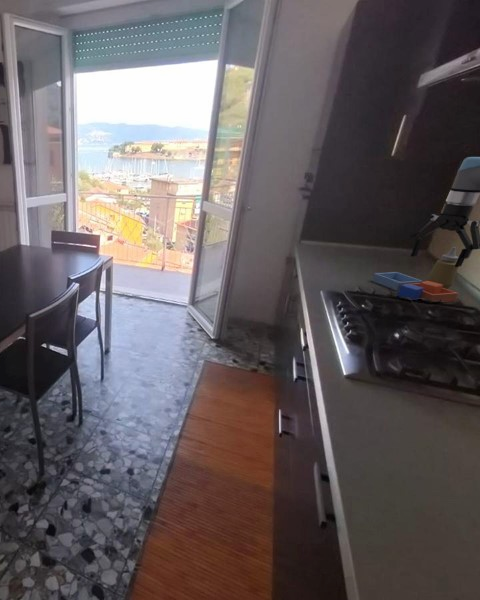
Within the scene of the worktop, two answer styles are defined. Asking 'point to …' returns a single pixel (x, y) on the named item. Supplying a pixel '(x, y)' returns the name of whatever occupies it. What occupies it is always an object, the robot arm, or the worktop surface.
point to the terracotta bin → (439, 295)
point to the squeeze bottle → (444, 269)
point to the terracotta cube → (431, 287)
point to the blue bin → (394, 280)
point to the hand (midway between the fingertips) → (434, 261)
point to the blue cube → (410, 291)
